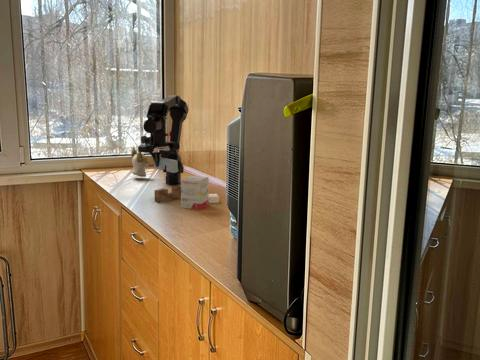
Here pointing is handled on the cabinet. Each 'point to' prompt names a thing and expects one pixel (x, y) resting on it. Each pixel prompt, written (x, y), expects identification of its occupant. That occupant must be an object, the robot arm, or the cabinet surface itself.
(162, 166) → the light blue block
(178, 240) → the cabinet surface
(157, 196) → the brown boxy piece
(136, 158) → the ceramic sculpture
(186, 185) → the ink box
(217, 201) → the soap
